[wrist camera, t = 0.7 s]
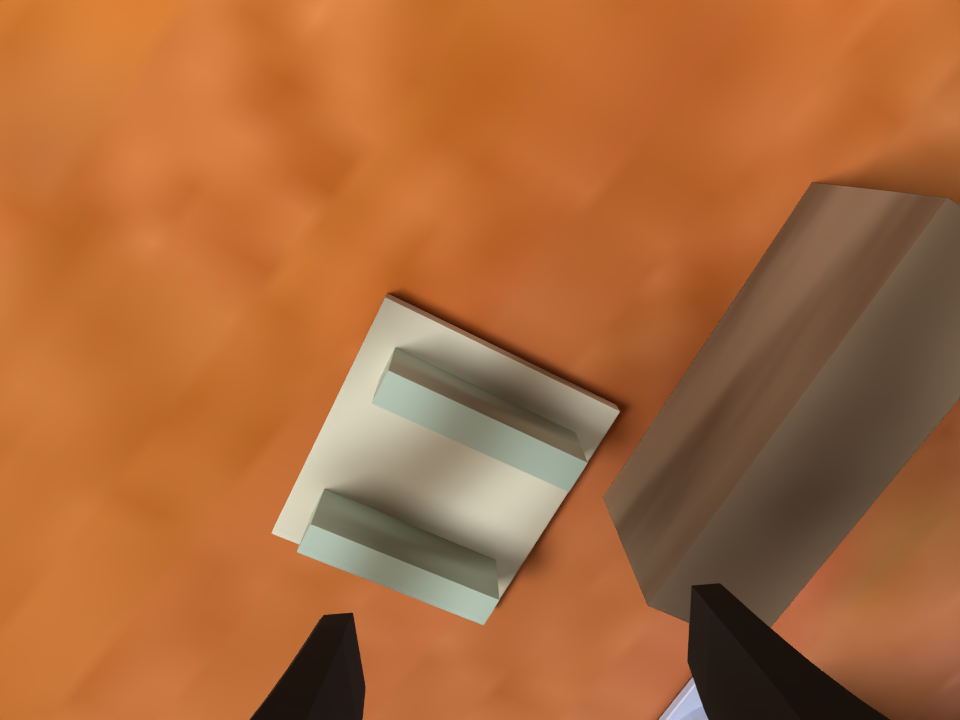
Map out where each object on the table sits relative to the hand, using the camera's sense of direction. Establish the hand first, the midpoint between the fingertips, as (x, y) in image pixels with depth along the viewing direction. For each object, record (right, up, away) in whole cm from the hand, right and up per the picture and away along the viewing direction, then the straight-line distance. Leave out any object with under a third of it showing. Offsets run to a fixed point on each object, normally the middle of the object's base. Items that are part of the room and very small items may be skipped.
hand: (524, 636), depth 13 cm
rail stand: (-2, +2, +10) cm, 10 cm away
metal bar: (+8, +5, +9) cm, 14 cm away
